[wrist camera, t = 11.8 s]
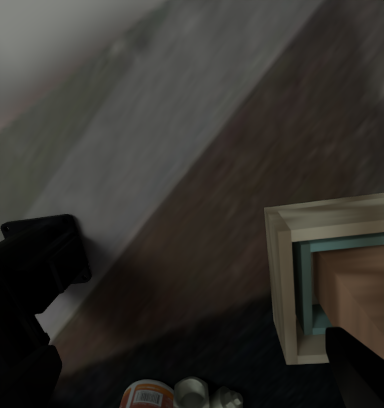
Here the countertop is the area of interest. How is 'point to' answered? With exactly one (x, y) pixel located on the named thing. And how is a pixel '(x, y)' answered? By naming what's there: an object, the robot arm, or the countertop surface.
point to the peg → (353, 291)
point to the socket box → (303, 264)
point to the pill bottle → (148, 395)
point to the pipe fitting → (203, 395)
